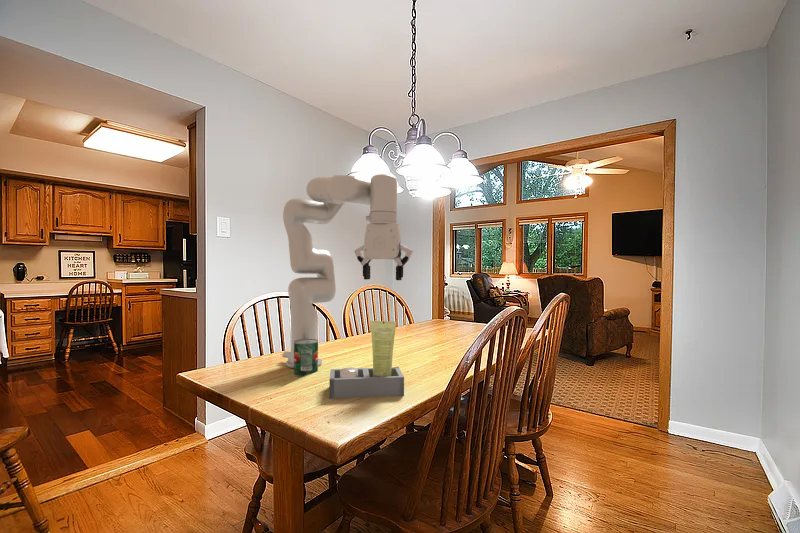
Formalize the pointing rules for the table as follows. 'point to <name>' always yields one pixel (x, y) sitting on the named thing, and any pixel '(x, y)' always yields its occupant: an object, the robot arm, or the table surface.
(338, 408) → the table surface
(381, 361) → the tube
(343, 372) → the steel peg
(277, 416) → the table surface
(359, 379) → the rack
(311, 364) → the canned tomato
